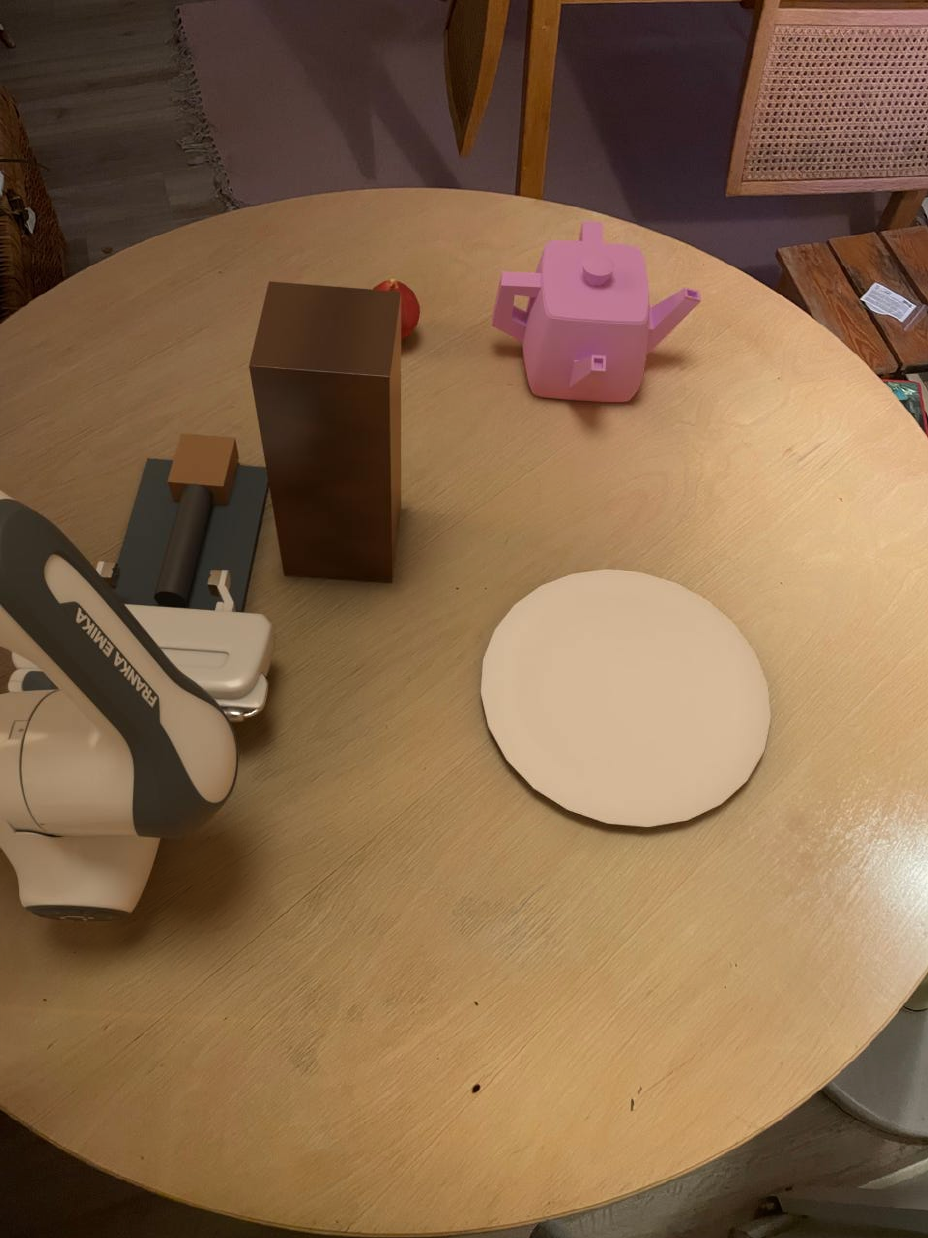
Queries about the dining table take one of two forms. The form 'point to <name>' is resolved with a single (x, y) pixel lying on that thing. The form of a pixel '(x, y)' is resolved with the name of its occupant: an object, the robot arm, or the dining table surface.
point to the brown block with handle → (193, 508)
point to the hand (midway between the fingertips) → (165, 569)
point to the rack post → (331, 426)
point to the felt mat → (222, 543)
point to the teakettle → (587, 318)
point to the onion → (404, 305)
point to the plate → (625, 698)
